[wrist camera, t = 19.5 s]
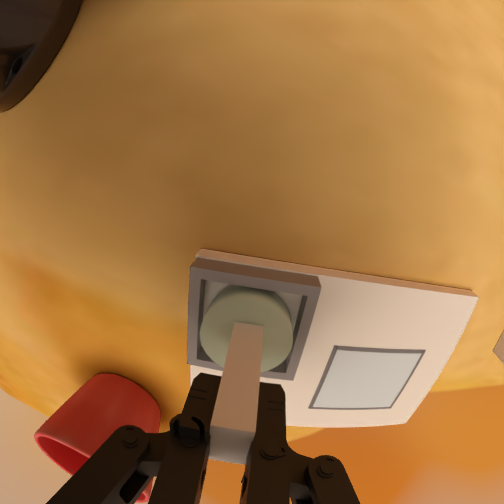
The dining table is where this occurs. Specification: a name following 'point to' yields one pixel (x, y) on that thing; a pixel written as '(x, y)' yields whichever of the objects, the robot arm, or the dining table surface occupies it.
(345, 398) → the board
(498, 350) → the tray
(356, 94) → the dining table surface
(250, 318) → the button
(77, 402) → the flower pot
